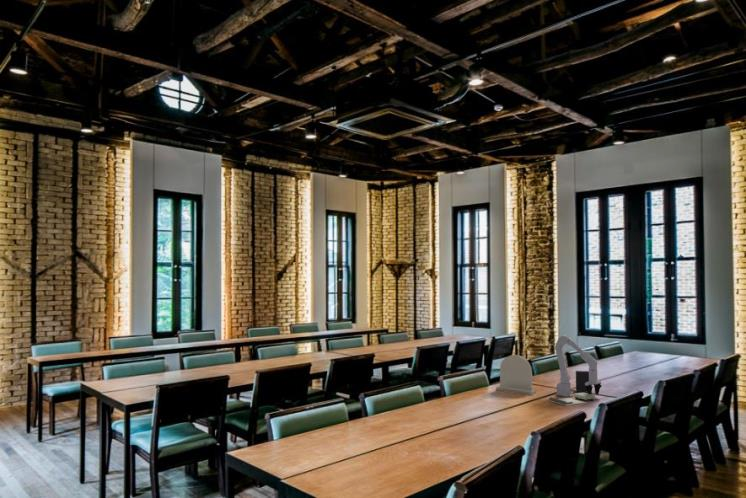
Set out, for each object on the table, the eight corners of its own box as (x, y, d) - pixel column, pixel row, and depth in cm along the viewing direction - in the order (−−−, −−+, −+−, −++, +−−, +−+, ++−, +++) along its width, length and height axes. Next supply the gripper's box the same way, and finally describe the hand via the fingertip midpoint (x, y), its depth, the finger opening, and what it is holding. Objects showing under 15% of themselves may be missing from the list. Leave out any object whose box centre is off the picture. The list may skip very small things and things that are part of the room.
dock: (548, 400, 363) (548, 397, 363) (569, 397, 372) (569, 394, 372) (566, 405, 349) (566, 402, 349) (587, 402, 358) (587, 399, 358)
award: (536, 393, 386) (535, 356, 388) (532, 395, 379) (531, 357, 381) (500, 388, 403) (500, 352, 404) (496, 390, 396) (495, 354, 397)
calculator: (590, 390, 398) (590, 371, 398) (592, 391, 393) (591, 372, 394) (575, 390, 399) (575, 370, 399) (577, 391, 394) (576, 371, 395)
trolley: (573, 398, 370) (573, 393, 370) (583, 397, 375) (583, 392, 375) (585, 401, 361) (585, 396, 361) (595, 400, 366) (595, 395, 366)
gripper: (590, 377, 366) (590, 397, 365) (604, 376, 373) (604, 395, 372) (582, 375, 372) (582, 394, 372) (596, 374, 379) (596, 393, 378)
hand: (593, 394), depth 372 cm, fingers open, 7 cm apart
